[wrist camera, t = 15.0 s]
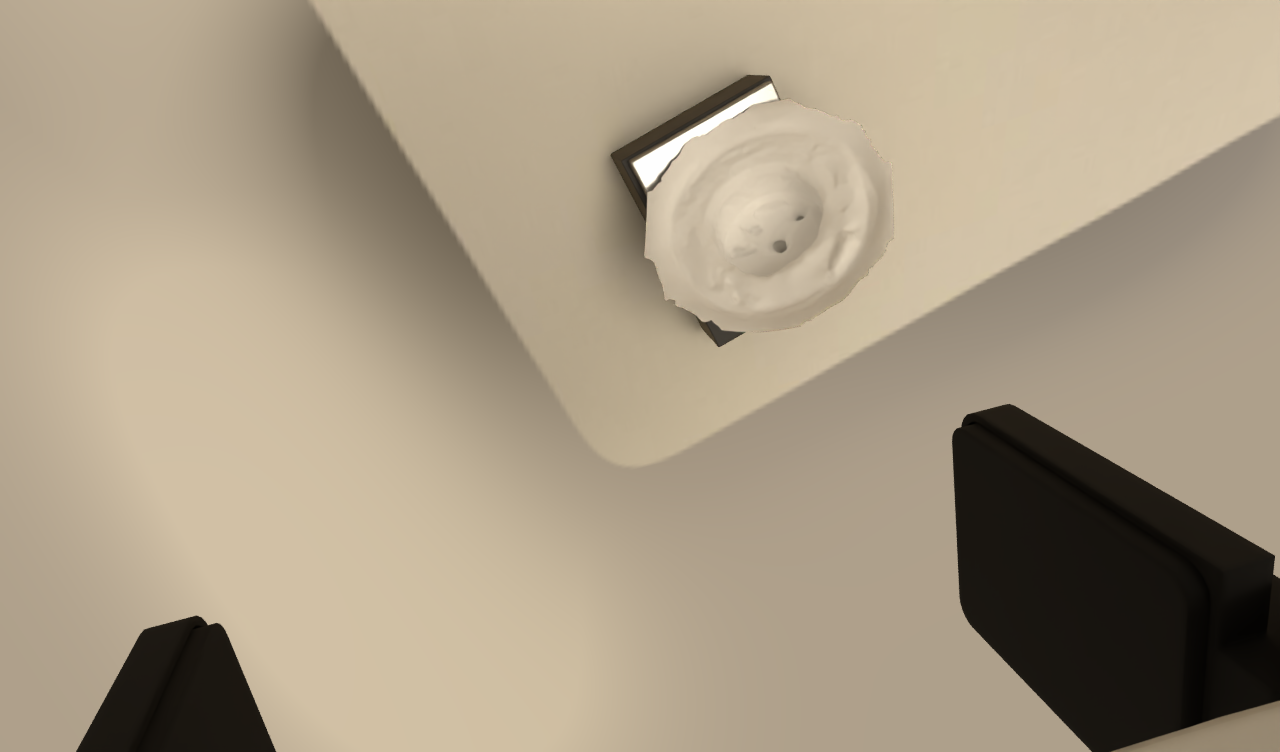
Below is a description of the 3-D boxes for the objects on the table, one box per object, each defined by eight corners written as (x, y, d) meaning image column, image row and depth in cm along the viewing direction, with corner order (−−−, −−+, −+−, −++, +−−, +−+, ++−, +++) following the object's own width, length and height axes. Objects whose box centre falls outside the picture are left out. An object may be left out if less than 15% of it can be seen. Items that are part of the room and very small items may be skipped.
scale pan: (836, 239, 33) (843, 242, 32) (707, 313, 33) (711, 317, 32) (766, 80, 30) (772, 80, 30) (627, 160, 30) (630, 162, 30)
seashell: (707, 230, 35) (671, 389, 30) (658, 123, 31) (609, 285, 26) (914, 196, 31) (909, 369, 27) (887, 71, 28) (877, 247, 23)
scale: (830, 256, 36) (857, 271, 33) (702, 329, 36) (720, 349, 33) (748, 74, 33) (772, 74, 30) (609, 154, 33) (621, 161, 30)
